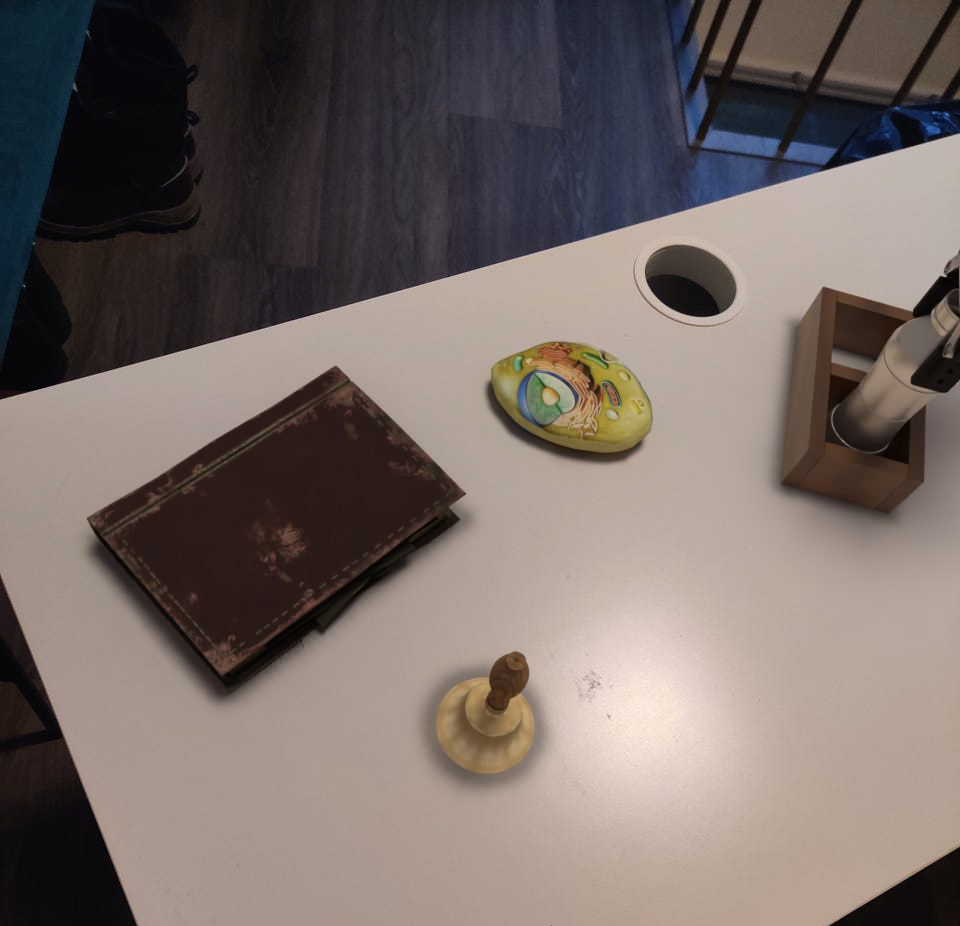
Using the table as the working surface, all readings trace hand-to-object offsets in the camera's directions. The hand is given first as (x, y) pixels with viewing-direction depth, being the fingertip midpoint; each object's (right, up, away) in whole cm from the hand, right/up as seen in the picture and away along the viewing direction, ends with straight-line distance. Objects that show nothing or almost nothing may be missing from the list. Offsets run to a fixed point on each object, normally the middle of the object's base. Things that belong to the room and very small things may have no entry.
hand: (929, 350), depth 70 cm
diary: (-54, -15, +3) cm, 56 cm away
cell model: (-29, -2, +12) cm, 31 cm away
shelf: (-1, -1, +16) cm, 16 cm away
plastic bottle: (-2, -6, +14) cm, 15 cm away
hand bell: (-37, -31, -1) cm, 48 cm away
